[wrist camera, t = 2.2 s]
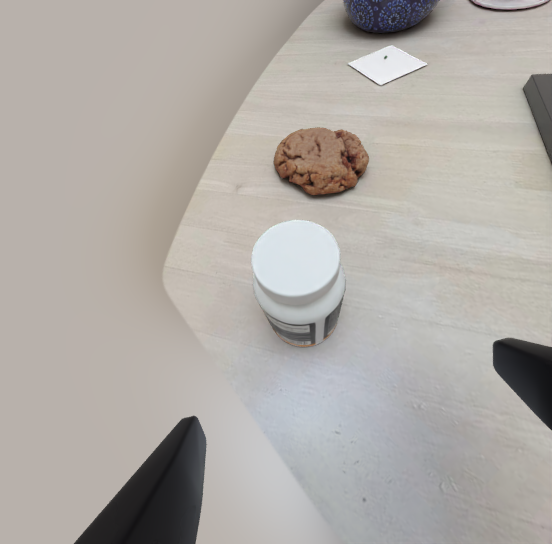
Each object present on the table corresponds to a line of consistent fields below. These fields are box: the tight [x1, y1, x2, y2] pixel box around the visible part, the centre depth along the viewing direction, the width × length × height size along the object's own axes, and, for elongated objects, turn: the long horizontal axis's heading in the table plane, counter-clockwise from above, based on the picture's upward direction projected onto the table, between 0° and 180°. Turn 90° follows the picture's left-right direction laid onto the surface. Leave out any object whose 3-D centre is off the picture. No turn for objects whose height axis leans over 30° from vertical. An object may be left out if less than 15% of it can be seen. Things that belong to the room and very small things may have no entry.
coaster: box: [348, 45, 427, 85], centre depth 38 cm, size 8×8×1 cm
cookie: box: [274, 128, 369, 195], centre depth 29 cm, size 10×11×3 cm
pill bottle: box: [251, 220, 346, 347], centre depth 18 cm, size 6×6×10 cm
